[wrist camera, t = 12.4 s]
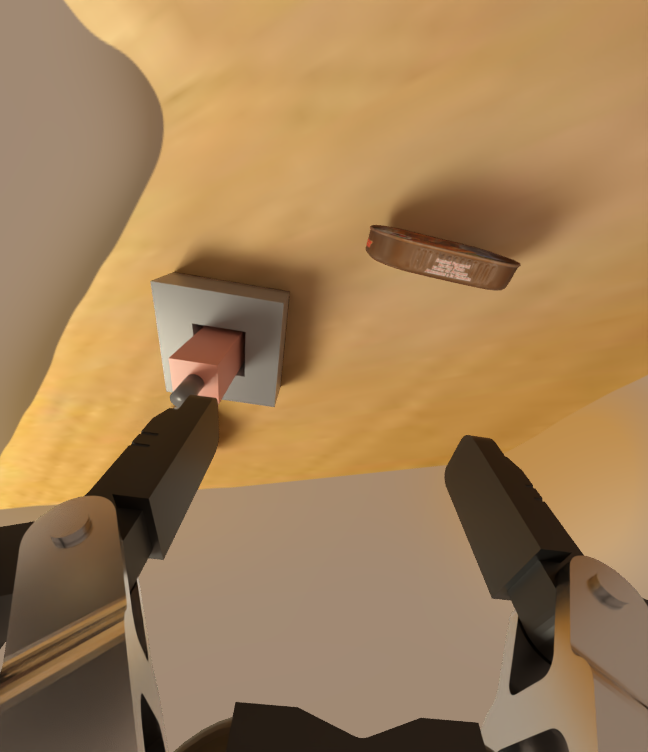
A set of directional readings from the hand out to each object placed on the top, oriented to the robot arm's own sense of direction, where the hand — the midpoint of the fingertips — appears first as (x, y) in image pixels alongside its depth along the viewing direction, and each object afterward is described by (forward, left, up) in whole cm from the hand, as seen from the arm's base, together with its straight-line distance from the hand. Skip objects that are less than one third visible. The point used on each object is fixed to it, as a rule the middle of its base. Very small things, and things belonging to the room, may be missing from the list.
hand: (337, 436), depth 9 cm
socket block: (+10, -12, -28) cm, 32 cm away
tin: (-4, +10, -28) cm, 30 cm away
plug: (+10, -12, -27) cm, 31 cm away
